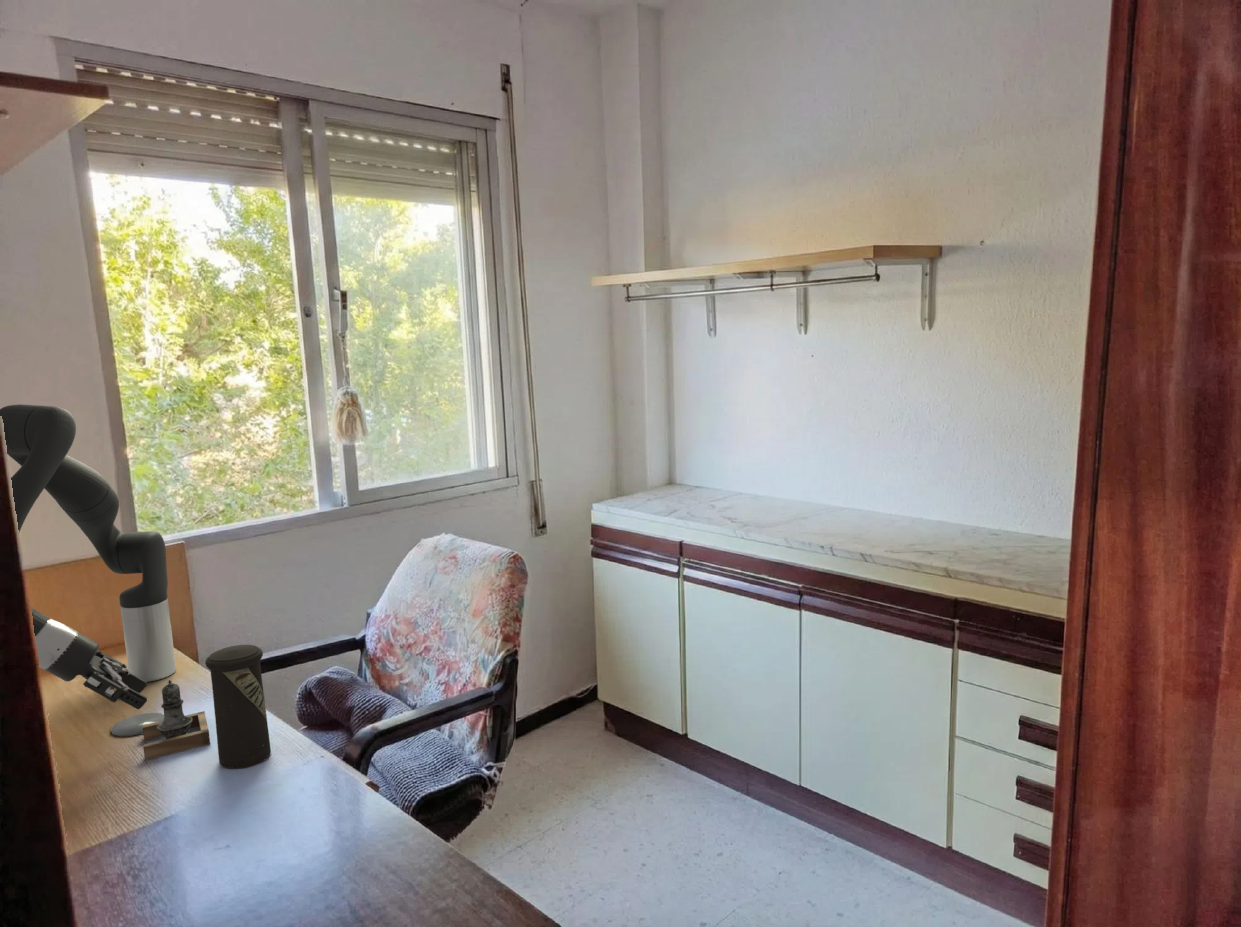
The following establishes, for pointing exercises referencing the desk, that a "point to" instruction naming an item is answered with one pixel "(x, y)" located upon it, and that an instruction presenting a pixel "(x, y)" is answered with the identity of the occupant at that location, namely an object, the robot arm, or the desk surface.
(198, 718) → the wooden arch
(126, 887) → the desk surface
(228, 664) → the container
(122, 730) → the grey oval disc
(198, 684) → the desk surface
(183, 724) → the stone finial
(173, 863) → the desk surface
